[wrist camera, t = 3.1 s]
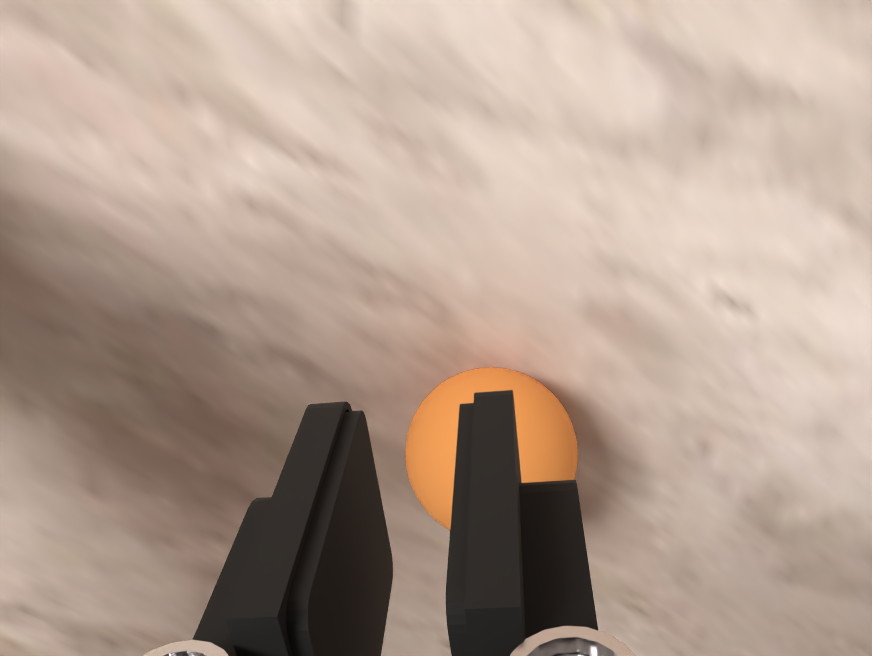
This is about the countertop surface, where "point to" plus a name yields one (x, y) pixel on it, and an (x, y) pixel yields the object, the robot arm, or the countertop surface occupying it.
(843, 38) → the countertop surface
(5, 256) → the countertop surface
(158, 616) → the countertop surface
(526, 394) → the ball
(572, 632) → the robot arm
